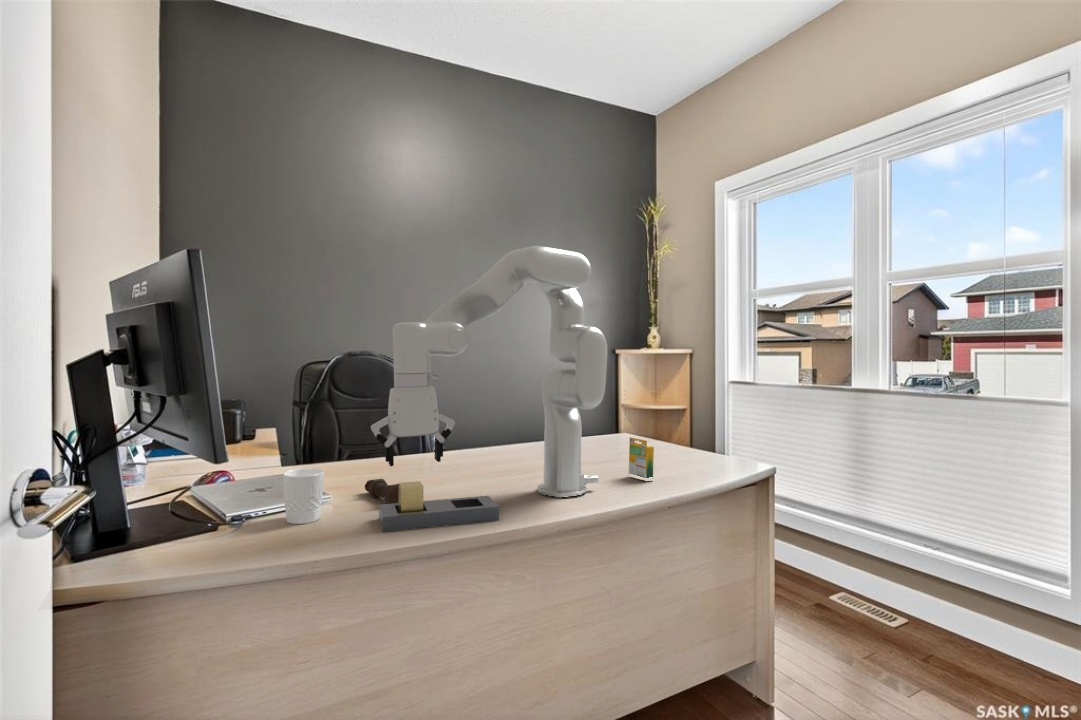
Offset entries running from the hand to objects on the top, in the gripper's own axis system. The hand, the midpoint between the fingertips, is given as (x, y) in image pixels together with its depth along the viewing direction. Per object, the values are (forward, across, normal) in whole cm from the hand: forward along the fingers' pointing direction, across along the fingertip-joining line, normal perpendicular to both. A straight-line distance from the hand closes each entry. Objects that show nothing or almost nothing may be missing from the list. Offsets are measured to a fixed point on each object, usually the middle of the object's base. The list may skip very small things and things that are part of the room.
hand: (414, 462), depth 115 cm
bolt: (+13, +5, -19) cm, 24 cm away
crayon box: (+15, -66, -19) cm, 70 cm away
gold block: (+12, +1, 0) cm, 13 cm away
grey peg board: (+13, -5, 0) cm, 13 cm away
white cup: (+12, +22, -9) cm, 27 cm away
